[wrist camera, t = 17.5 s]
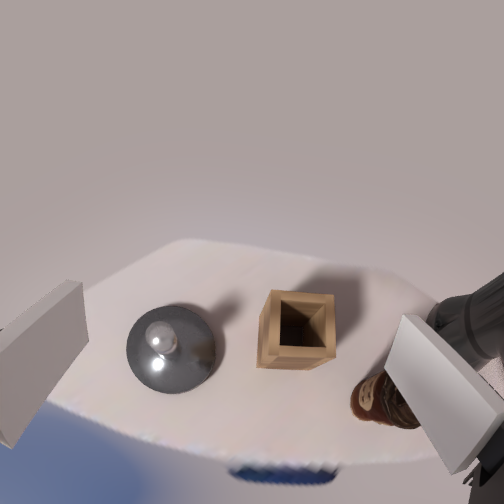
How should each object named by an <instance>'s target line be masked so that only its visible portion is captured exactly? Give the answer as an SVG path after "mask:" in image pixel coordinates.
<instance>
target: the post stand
mask: <svg viewBox="0 0 504 504" xmlns="http://www.w3.org/2000/svg"><path fill="white" fill-rule="evenodd" d="M126 351H127V359H128V362H129V365H130V367H131V369H132V371H133V373H134V374H135V376H136V377H137V378H138V379H139V380H140V381H141V382H142V383H143V384H144V385H146V386H147V387H149V388H151V389H153V390H155V391H158V392H161V393H166V394H181V393H185V392H188V391H191V390H193V389H194V388H196V387H198V386H199V385H200V384H202V383H203V382H204V381H205V379H206V378H207V377H208V376H209V374H210V372H211V370H212V368H213V365H214V361H215V342H214V338H213V335H212V333H211V330H210V329H209V327H208V325H207V324H206V323H205V322H204V321H203V320H202V319H201V318H200V317H199V316H198V315H197V314H195V313H193V312H192V311H190V310H187V309H185V308H181V307H176V306H164V307H159V308H156V309H153V310H151V311H149V312H147V313H146V314H144V315H143V316H142V317H140V318H139V319H138V320H137V322H136V323H135V324H134V326H133V327H132V329H131V331H130V333H129V336H128V340H127V347H126Z"/></svg>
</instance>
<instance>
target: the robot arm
mask: <svg viewBox="0 0 504 504" xmlns="http://www.w3.org/2000/svg"><path fill="white" fill-rule="evenodd" d="M88 342H89V338H88V331H87V324H86V316H85V307H84V298H83V286H82V282H77V281H71V280H66V281H64V282H63V283H62V284H60V285H59V286H58V287H56V288H55V289H54V290H52V291H51V292H50V293H48V294H47V295H46V296H44V297H43V298H42V299H40V300H39V301H38V302H37V303H35V304H34V305H33V306H31V307H30V308H29V309H27V310H26V311H25V312H24V313H22V314H21V315H20V316H19V317H17V318H16V319H15V320H14V321H12V322H11V323H10V324H9V325H7V326H6V327H5V328H3V329H1V330H0V443H1V444H3V445H5V446H7V447H9V448H11V449H13V447H14V446H15V444H16V443H17V441H18V440H19V438H20V437H21V435H22V433H23V432H24V430H25V429H26V427H27V426H28V424H29V423H30V421H31V420H32V418H33V417H34V415H35V414H36V413H37V411H38V410H39V408H40V407H41V405H42V404H43V402H44V401H45V400H46V398H47V397H48V395H49V394H50V393H51V391H52V390H53V388H54V387H55V386H56V384H57V383H58V381H59V380H60V379H61V377H62V376H63V375H64V373H65V372H66V371H67V369H68V368H69V367H70V365H71V364H72V363H73V361H74V360H75V359H76V357H77V356H78V355H79V353H80V352H81V351H82V350H83V348H84V347H85V346H86V344H87V343H88ZM499 356H500V357H501V360H502V363H503V366H504V272H503V273H502V274H501V275H499V276H498V277H496V278H495V279H493V280H492V281H490V282H489V283H488V284H486V285H485V286H483V287H482V288H480V289H479V290H477V291H476V292H474V293H473V294H469V295H463V296H456V297H451V298H448V299H445V300H444V301H442V302H441V303H439V304H438V305H436V306H435V307H434V308H433V309H432V311H431V312H430V314H429V316H428V319H427V322H426V323H425V322H424V321H423V320H422V319H421V318H420V317H419V316H418V315H417V314H403V316H402V319H401V322H400V325H399V328H398V331H397V334H396V337H395V339H394V342H393V345H392V348H391V350H390V353H389V356H388V358H387V361H386V364H385V366H384V368H385V370H386V371H387V373H388V374H389V376H390V377H391V379H392V380H393V382H394V383H395V385H396V387H397V388H398V390H399V391H400V393H401V394H402V396H403V397H404V399H405V400H406V402H407V404H408V405H409V407H410V408H411V410H412V412H413V413H414V415H415V416H416V418H417V419H418V421H419V423H420V424H421V426H422V427H423V429H424V431H425V432H426V434H427V436H428V437H429V439H430V441H431V442H432V444H433V445H434V447H435V449H436V450H437V452H438V454H439V455H440V457H441V459H442V461H443V462H444V464H445V465H446V467H447V469H448V471H449V473H450V474H451V475H453V474H456V473H458V472H461V471H463V470H465V469H467V468H468V467H469V465H470V464H471V463H472V462H473V461H474V460H475V458H476V457H477V458H478V460H479V461H480V462H479V464H478V465H477V466H476V467H475V468H474V469H473V470H472V472H471V473H470V474H469V475H468V476H467V477H466V478H465V479H464V481H463V484H466V483H467V482H468V480H469V479H470V478H472V477H473V480H472V481H471V482H470V483H469V486H472V488H471V493H470V499H469V503H468V504H504V399H503V398H502V397H501V396H500V395H499V394H498V393H497V391H496V390H494V388H493V387H492V386H491V385H490V384H488V382H487V381H486V380H485V379H484V378H483V377H482V376H481V375H480V374H479V373H477V372H478V371H479V370H480V369H482V368H483V367H484V366H485V365H486V364H487V363H488V362H490V361H491V360H492V359H494V358H497V357H499Z"/></svg>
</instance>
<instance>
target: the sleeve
mask: <svg viewBox="0 0 504 504" xmlns="http://www.w3.org/2000/svg"><path fill="white" fill-rule="evenodd" d="M280 326H294V327H303V344H302V347H299V346H281V345H279V344H280ZM334 358H336V333H335V305H334V295H329V294H317V293H305V292H293V291H282V290H271V292H270V294H269V296H268V298H267V301H266V303H265V305H264V307H263V310H262V312H261V314H260V316H259V334H258V351H257V367H256V368H268V369H288V370H311V369H313V368H315V367H317V366H320V365H322V364H324V363H326V362H328V361H330V360H332V359H334Z"/></svg>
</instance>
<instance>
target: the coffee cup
mask: <svg viewBox="0 0 504 504" xmlns="http://www.w3.org/2000/svg"><path fill="white" fill-rule="evenodd" d="M350 407H351V410H352V414H353V415H354V416H355V417H357V418H358V419H359V420H362V421H372V420H373V421H374V422H376V423H378V424H384V425H388V426H394V425H395V426H396V427H399V428H403V429H415V428H418V427H419V426H421V424H420V423H419V421H418V419H417V418H416V416H415V415H414V413H413V412H412V410H411V408H410V407H409V405H408V404H407V402H406V400H405V399H404V397H403V396H402V394H401V393H400V391H399V390H398V388H397V387H396V385H395V383H394V382H393V380H392V379H391V377H390V376H389V374H388V373H387V371H386V370H385V371H383V372H380V373H378V374H377V375H375V376H373V377H371V378H369V379H367V380H364V381H362V382H361V383H359V384H358V385H357V386H356V387H355V388H354V390H353V392H352V395H351V402H350Z"/></svg>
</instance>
